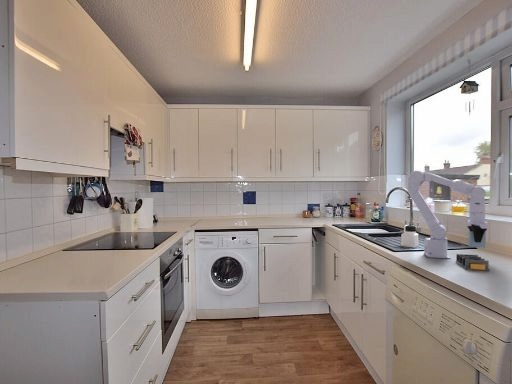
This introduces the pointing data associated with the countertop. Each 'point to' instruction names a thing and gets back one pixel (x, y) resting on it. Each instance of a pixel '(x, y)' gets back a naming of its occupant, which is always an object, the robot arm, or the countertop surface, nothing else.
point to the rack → (472, 262)
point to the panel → (476, 244)
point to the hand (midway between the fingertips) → (476, 241)
